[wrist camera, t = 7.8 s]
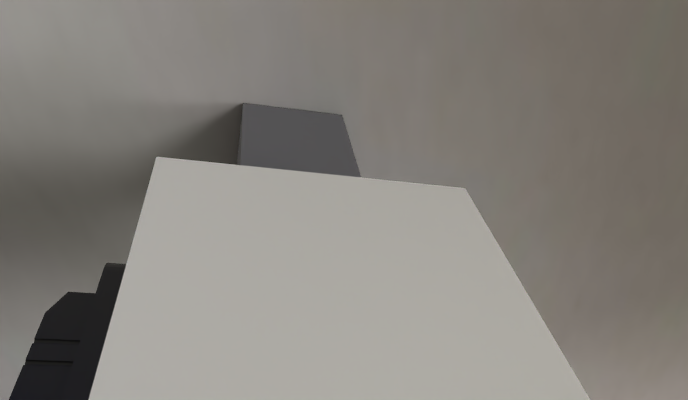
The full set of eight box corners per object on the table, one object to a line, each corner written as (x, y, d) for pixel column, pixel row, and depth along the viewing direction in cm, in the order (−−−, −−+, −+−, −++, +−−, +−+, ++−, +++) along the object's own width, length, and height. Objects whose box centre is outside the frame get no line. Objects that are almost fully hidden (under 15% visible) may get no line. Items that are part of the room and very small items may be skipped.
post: (342, 115, 17) (391, 277, 11) (326, 198, 18) (362, 386, 12) (243, 103, 16) (236, 266, 10) (233, 190, 17) (223, 382, 11)
